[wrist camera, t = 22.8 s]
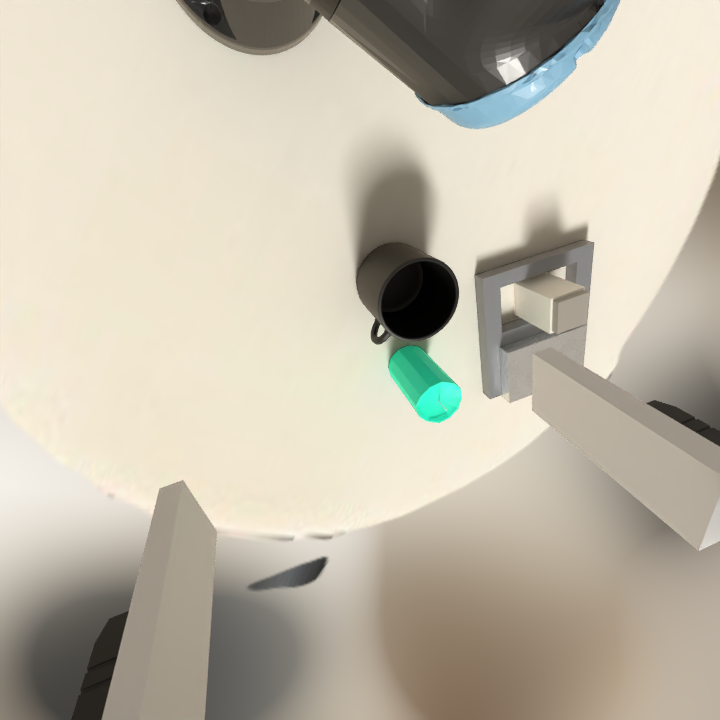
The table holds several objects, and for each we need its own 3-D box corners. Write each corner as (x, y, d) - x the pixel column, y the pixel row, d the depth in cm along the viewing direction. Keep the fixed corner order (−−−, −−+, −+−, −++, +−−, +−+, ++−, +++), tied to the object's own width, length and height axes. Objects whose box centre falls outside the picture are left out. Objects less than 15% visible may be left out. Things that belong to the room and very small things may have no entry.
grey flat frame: (474, 275, 52) (482, 279, 50) (582, 240, 54) (594, 242, 52) (483, 392, 62) (490, 399, 60) (574, 358, 64) (583, 364, 62)
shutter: (499, 347, 56) (513, 357, 53) (576, 320, 57) (593, 327, 55) (501, 396, 60) (514, 407, 57) (573, 369, 62) (588, 379, 59)
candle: (401, 339, 53) (439, 381, 43) (434, 352, 56) (478, 395, 45) (381, 375, 55) (413, 424, 44) (414, 386, 57) (452, 435, 47)
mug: (332, 313, 49) (349, 341, 41) (380, 227, 45) (409, 240, 38) (390, 341, 53) (416, 372, 45) (438, 264, 50) (475, 282, 42)
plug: (514, 314, 56) (555, 336, 49) (513, 283, 54) (556, 301, 47) (544, 304, 57) (588, 324, 50) (544, 272, 55) (591, 289, 47)
